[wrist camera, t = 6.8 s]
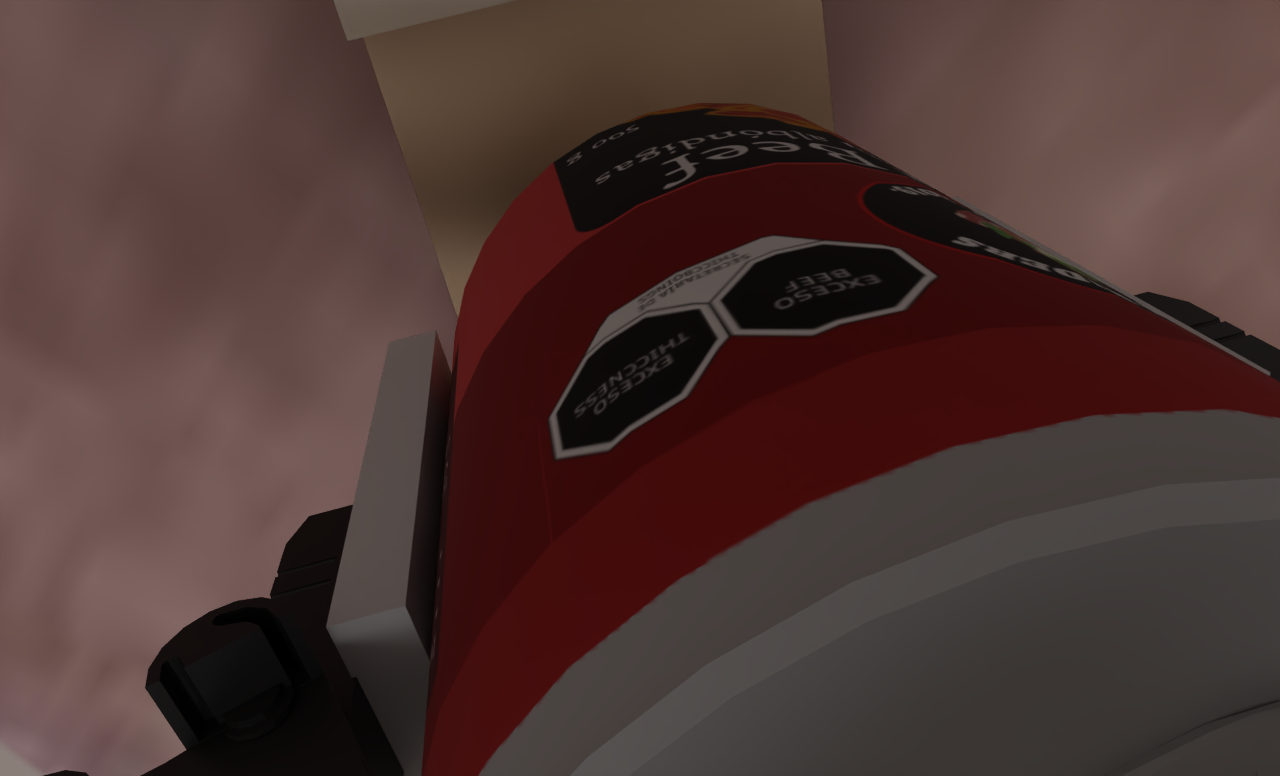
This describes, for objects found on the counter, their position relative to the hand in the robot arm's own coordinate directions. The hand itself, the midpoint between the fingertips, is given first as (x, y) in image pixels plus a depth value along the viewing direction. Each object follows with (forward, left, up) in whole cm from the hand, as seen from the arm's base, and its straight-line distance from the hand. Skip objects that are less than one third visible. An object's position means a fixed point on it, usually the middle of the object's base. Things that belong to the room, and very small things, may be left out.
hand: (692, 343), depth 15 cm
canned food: (0, 0, -1) cm, 1 cm away
